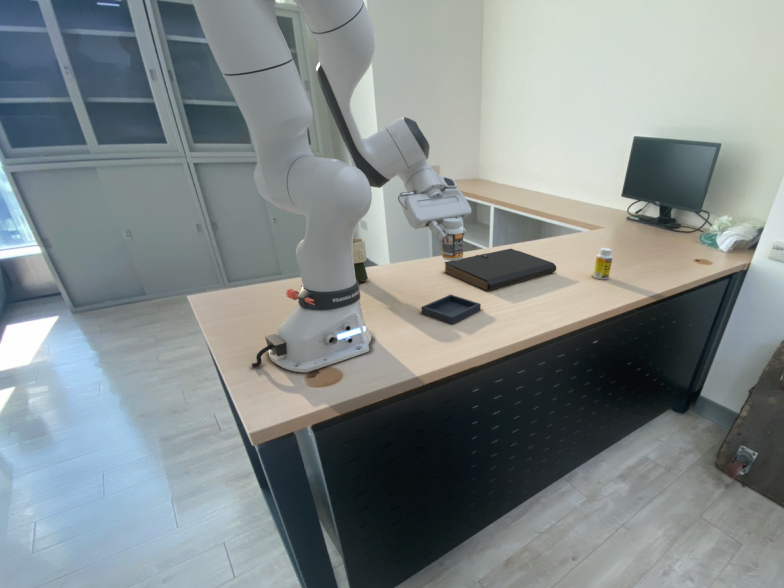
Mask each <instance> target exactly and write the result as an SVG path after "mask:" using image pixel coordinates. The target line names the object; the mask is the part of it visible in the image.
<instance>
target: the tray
mask: <svg viewBox="0 0 784 588" xmlns="http://www.w3.org/2000/svg"><path fill="white" fill-rule="evenodd" d="M481 307H482V306H481V303H479V302H476V301H473V300H470V299H467V298H464V297H460V296H457V295H454V294H448V295H446V296H444V297H442V298H439V299H436V300H434V301H432V302H430V303H427V304H425V305H422V306H421V307H420V309H421V314H422V315H425V316H427V317H430V318H433V319H437V320H439V321H442V322H444V323H447V324H450V325H454V324H456V323H459V322H460V321H462V320H464V319H466V318H468V317H470V316H472V315H474V314H476V313H477V312H481Z"/></svg>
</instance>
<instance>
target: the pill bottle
mask: <svg viewBox="0 0 784 588" xmlns="http://www.w3.org/2000/svg"><path fill="white" fill-rule="evenodd" d="M442 225H443V227H442V228H441V229H442V230H445V232H446V233H447V238H446V239H443V240H440V242H441V245H440V246H441V258H442V259H444V260H446V261H456V260H461V259H462V258H464V235H463V230H462V229H461V228H460V226H461V219H458V218H444V219H443V224H442Z"/></svg>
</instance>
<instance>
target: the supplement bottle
mask: <svg viewBox="0 0 784 588" xmlns="http://www.w3.org/2000/svg"><path fill="white" fill-rule="evenodd" d="M612 251H613V249H612V248H609V247H601V248H600V249H599V253H597V254H596V258H595V264H594V269H593V274H592V275H593V278H595V279H597V280H607V279H609V277H610V274H611V273H610V272H611V267H612V263H613V255H612Z"/></svg>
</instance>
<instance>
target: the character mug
mask: <svg viewBox="0 0 784 588" xmlns="http://www.w3.org/2000/svg"><path fill="white" fill-rule="evenodd" d="M352 249H353V261H354V269H355V277H356V280H357V281H358V283H362V282H364V281H367V280H368V279H369V277H368V273H367V269H366V265H365V262H366V261H367V249H366V241H365V239H363V238H361V237H353V247H352Z"/></svg>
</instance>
